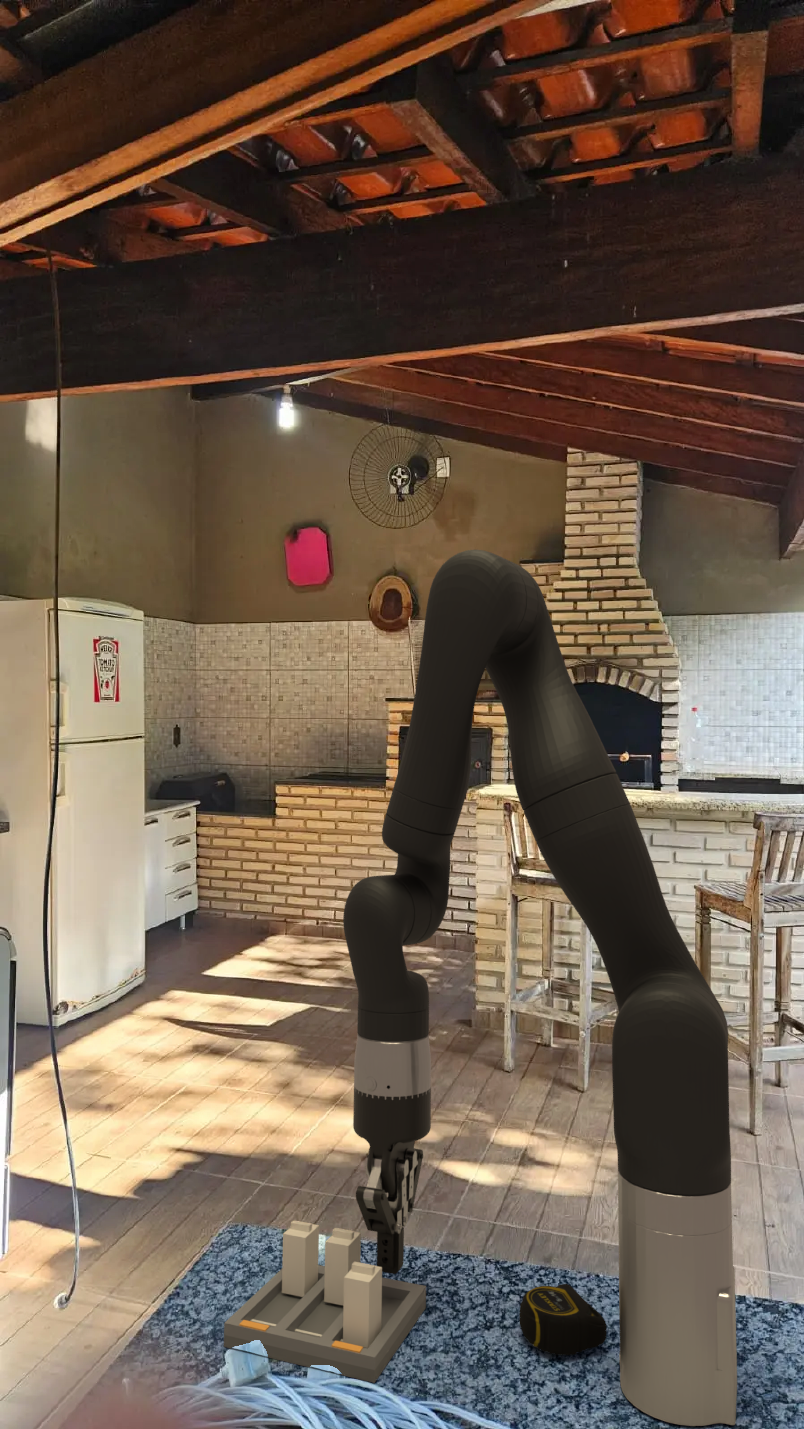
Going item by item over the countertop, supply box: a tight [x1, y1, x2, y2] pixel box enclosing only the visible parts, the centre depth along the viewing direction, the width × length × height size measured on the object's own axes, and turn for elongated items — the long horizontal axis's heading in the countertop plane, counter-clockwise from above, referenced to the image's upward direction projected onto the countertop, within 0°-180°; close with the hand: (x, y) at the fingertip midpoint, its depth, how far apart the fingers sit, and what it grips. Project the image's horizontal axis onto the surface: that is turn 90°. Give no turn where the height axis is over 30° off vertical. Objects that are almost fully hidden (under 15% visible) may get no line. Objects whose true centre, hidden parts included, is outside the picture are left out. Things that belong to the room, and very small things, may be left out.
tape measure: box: [518, 1283, 608, 1356], centre depth 86 cm, size 7×7×4 cm
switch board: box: [223, 1264, 427, 1384], centre depth 88 cm, size 14×13×2 cm
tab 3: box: [281, 1220, 320, 1297], centre depth 93 cm, size 2×3×6 cm
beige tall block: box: [343, 1262, 383, 1348], centre depth 85 cm, size 2×3×6 cm
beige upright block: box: [324, 1227, 362, 1306], centre depth 92 cm, size 2×3×6 cm
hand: (390, 1268), depth 91 cm, fingers closed
